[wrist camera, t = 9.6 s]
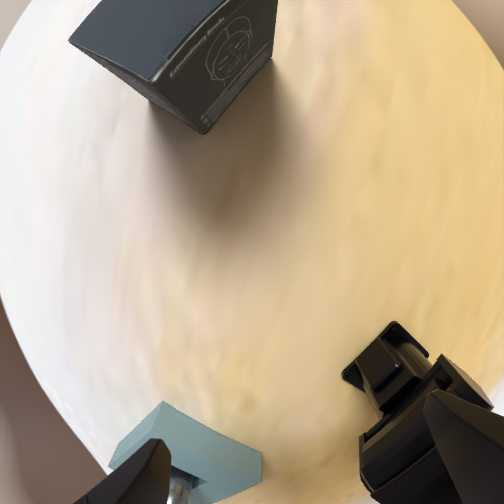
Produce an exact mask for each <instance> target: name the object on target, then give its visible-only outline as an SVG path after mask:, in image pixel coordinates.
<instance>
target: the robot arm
mask: <svg viewBox="0 0 504 504" xmlns="http://www.w3.org/2000/svg"><path fill="white" fill-rule="evenodd" d="M394 326H396V327H395V328H394V329H393V327H394ZM428 357H429V353H428V352H427V351H426V350H425V349H424V348H423V347H422V346H421V345H420V344H419V343H418V342H417V341H416V340H415V339H414V338H413V337H412V336H411V335H410V334H409V333H408V332H407V331H406V330H405V329H404V328H403V327H402V326H401V325H400V324H399V323H398V322H397V321H392V322H391V323H390V324H389V325H388V326H387V327H386V328H385V329H384V330H383V331H382V332H381V333H380V335H379V336H378V337H377V338H376V339H375V340H374V341H373V342H372V343H371V344H370V345H369V346H368V347H367V348H366V349H365V350H364V351H363V352H362V353H361V354H360V355H359V356H358V357H357V358H356V359H355V360H354V361H353V362H352V363H351V364H350V365H348V366H347V367H346V368H345V369H344V370H343V371H342V377H343V378H344V379H345V380H346V381H348V382H349V383H351V384H352V385H354V386H355V387H357V388H359V389H360V390H362V391H363V392H365V393H366V394H367V395H368V397H369V399H370V401H371V403H372V405H373V407H374V409H375V411H376V413H377V416H378V418H379V420H380V421H379V422H378V423H377V424H375V425H374V426H373V427H372V428H371V429H370V430H369V431H367V432H366V433H363V434H362V435H361V436H360V437H359V459H360V477H361V481H362V482H363V484H364V486H365V487H366V488H367V490H368V491H369V492H370V493H371V494H370V496H371V497H372V498H373V499H375V500H376V501H377V502H379V503H380V504H504V417H503V416H501V415H498V414H496V413H493V412H491V410H492V409H493V408H494V406H493V404H492V403H491V401H490V400H489V398H488V397H487V396H486V394H485V393H484V391H483V390H482V388H481V387H480V386H479V385H478V384H477V383H476V382H475V381H474V380H473V379H472V378H471V377H470V376H469V375H468V374H467V373H466V372H464V371H463V370H462V369H461V368H459V367H458V366H457V365H456V364H454V363H453V362H452V361H451V360H449V359H448V358H447V357H445V356H444V355H443V354H441V355H440V356H439V357H438V358H437V361H436V363H435V364H434V365H432V364H431V363H430V362H429V361H428V360H427V358H428ZM347 373H349V374H348V375H346V374H347ZM171 459H172V456H171V452H170V450H169V448H168V447H167V445H166V444H165V442H164V440H163V439H161V438H150V439H149V440H148V441H146V442H145V443H144V444H143V445H142V446H141V447H140V448H139V449H138V450H137V451H135V452H134V453H133V454H132V455H131V456H130V457H129V458H128V459H127V460H125V461H124V462H123V463H122V464H121V465H120V466H119V467H117V468H116V469H115V470H114V471H113V472H112V473H110V474H109V475H108V476H107V477H106V478H105V479H103V480H102V481H101V482H100V483H99V484H97V485H96V486H95V487H94V488H92V489H91V490H90V491H89V492H88V493H87V494H85V495H84V496H83V497H81V498H80V499H79V500H77V501H76V502H75V503H73V504H167V501H168V496H169V488H170V473H171Z"/></svg>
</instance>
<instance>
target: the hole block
mask: <svg viewBox="0 0 504 504" xmlns="http://www.w3.org/2000/svg"><path fill="white" fill-rule="evenodd" d="M150 438H161V439H163V440H164V442H165V444H166V445H167V447H168V448H169V450H170V452H171V456H172V459H171V465H172V466H175V467H177V468H179V469H181V470H183V471H185V472H187V473H189V474H192V475H194V479H193V484H192V489H191V495H190V500H189V504H212V503H215V502H217V501H220V500H222V499H225V498H227V497H229V496H232V495H234V494H236V493H239V492H241V491H243V490H245V489H247V488H249V487H252V486H254V485H256V484H258V483H260V482H262V454H261V452H258V451H256V450H254V449H251V448H249V447H247V446H245V445H242V444H240V443H238V442H236V441H234V440H232V439H230V438H228V437H226V436H224V435H222V434H220V433H218V432H216V431H214V430H212V429H210V428H208V427H206V426H204V425H202V424H201V423H199V422H197V421H195V420H193V419H192V418H190V417H188V416H187V415H185V414H183V413H181V412H180V411H178V410H176V409H175V408H173V407H172V406H170V405H168V404H167V403H165V402H164V401H162V402H161V403H160V404H159V405H158V406H157V407H156V408H155V409H154V410H153V411H152V412H151V413H150V414H149V415H148V416H147V417H146V418H145V419H144V420H143V421H142V422H141V423H140V424H139V425H138V426H137V427H136V428H135V429H134V430H133V431H131V432H130V433H129V434H128V435H127V436H126V437H125V438H124V439H123V440H122V441H121V442H120V443H119V444H118V446H117V448H116V450H115V452H114V455H113V457H112V459H111V461H110V463H109V465H108V467H109V468H111V469H113V470H115V469H116V468H117V467H119V466H120V465H121V464H122V463H123V462H124V461H125V460H127V459H128V458H129V457H130V456H131V455H132V454H133V453H134V452H135V451H137V450H138V449H139V448H140V447H141V446H142V445H143V444H144V443H145V442H146V441H148V440H149V439H150Z"/></svg>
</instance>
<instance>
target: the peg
mask: <svg viewBox="0 0 504 504" xmlns="http://www.w3.org/2000/svg"><path fill="white" fill-rule="evenodd" d="M193 479H194V475H192V474H189V473H187V472H185V471H183V470H181V469H179V468H177V467H175V466H172V465H171V473H170V488H169V496H168V501H167V504H189V500H190V495H191V489H192V484H193Z"/></svg>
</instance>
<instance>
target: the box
mask: <svg viewBox="0 0 504 504" xmlns="http://www.w3.org/2000/svg"><path fill="white" fill-rule="evenodd" d="M277 5H278V0H102V1H101V2H100V3H99V4H98V5H97V6H96V7H95V8H94V9H93V10H92V12H91V13H90V14H89V15H88V16H87V17H86V18H85V20H84V21H83V22H82V23H81V24H80V26H79V27H78V28H77V29H76V30H75V32H74V33H73V34H72V35H71V37H70V38H69V39H68V41H69V43H71V44H72V45H74V46H75V47H76V48H78V49H79V50H81V51H82V52H84V53H85V54H87V55H88V56H89V57H91V58H92V59H94V60H95V61H96V62H98V63H99V64H101V65H102V66H103V67H105V68H106V69H108V70H109V71H110V72H112V73H113V74H115V75H116V76H117V77H118V78H120V79H121V80H123V81H124V82H125V83H127V84H128V85H129V86H131V87H132V88H133V89H135V90H136V91H137V92H138V93H140V94H141V95H142V96H144V97H145V98H147V99H148V100H150V101H151V102H153V103H155V104H156V105H158V106H159V107H161V108H163V109H164V110H166V111H167V112H169V113H170V114H172V115H174V116H175V117H177V118H178V119H180V120H181V121H183V122H184V123H186V124H187V125H189V126H190V127H192V128H193V129H195V130H196V131H198V132H199V133H200V134H206V133H207V132H208V131H209V130H210V128H211V127H212V126H213V125H214V123H215V122H216V121H217V119H218V118H219V117H220V116H221V114H222V113H223V112H224V111H225V110H226V108H227V107H228V106H229V105H230V103H231V102H232V101H233V100H234V99H235V97H236V96H237V95H238V94H239V93H240V91H241V90H242V89H243V88H244V87H245V86H246V85H247V83H248V82H249V81H250V80H251V79H252V78H253V77H254V75H255V74H256V73H257V72H258V71H259V70H260V69H261V68H262V67H263V66H264V64H265V63H266V62H267V61H268V60H269V59H270V58H271V57H272V52H273V43H274V33H275V23H276V14H277Z"/></svg>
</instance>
